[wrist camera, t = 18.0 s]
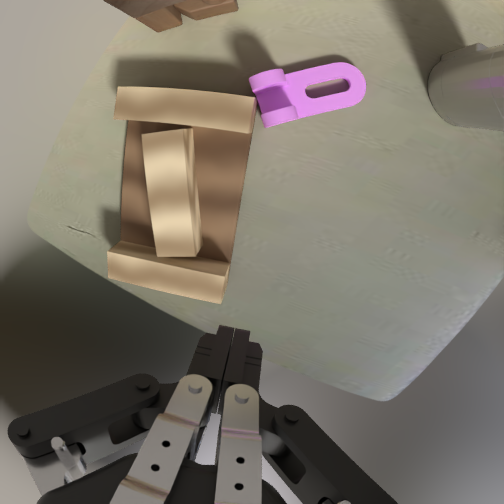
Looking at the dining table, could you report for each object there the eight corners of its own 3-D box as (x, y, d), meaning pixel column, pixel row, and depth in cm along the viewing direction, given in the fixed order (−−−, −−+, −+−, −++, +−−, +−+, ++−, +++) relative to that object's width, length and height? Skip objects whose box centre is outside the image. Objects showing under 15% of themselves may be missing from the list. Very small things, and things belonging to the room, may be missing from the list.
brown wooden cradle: (136, 89, 35) (118, 86, 31) (258, 101, 35) (254, 97, 30) (123, 262, 45) (108, 277, 40) (227, 285, 45) (220, 304, 40)
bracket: (267, 127, 36) (263, 127, 30) (253, 85, 34) (246, 76, 28) (368, 102, 34) (385, 98, 27) (355, 60, 32) (369, 48, 25)
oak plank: (154, 132, 36) (141, 134, 33) (192, 128, 36) (182, 128, 32) (167, 245, 42) (157, 256, 38) (203, 244, 42) (195, 256, 38)
